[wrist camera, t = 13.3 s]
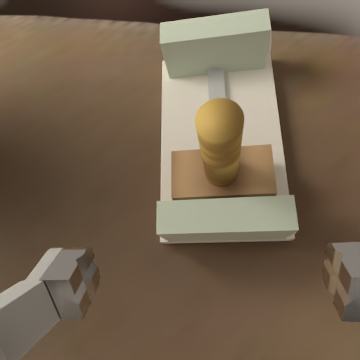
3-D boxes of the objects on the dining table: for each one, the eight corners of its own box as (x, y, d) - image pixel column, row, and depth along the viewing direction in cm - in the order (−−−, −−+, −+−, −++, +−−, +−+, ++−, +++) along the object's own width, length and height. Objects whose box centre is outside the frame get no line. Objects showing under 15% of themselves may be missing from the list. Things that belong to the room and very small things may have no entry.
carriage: (176, 205, 31) (143, 159, 19) (176, 161, 32) (146, 93, 20) (272, 200, 29) (305, 148, 17) (267, 156, 31) (294, 78, 19)
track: (163, 243, 33) (145, 234, 25) (165, 70, 40) (151, 24, 33) (290, 240, 31) (311, 229, 23) (267, 59, 38) (277, 6, 31)
